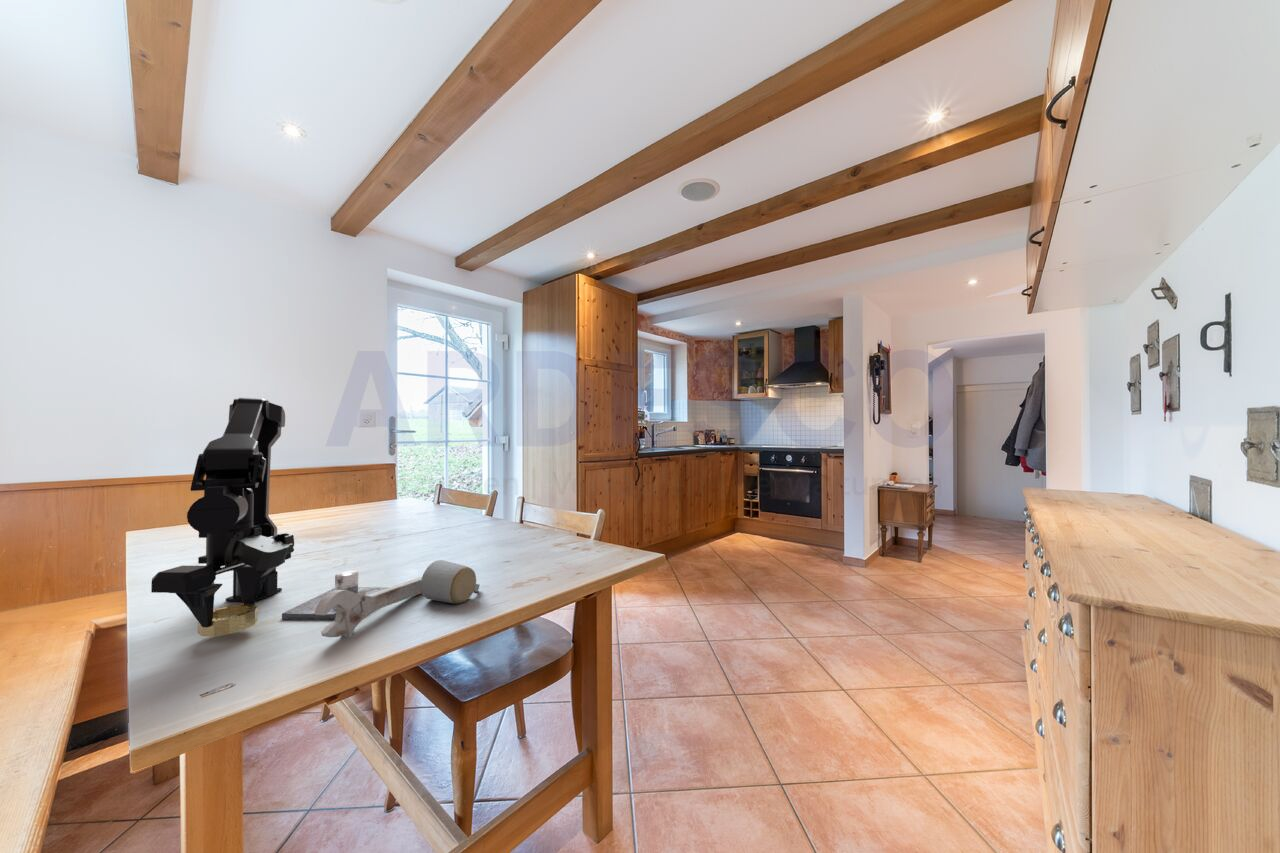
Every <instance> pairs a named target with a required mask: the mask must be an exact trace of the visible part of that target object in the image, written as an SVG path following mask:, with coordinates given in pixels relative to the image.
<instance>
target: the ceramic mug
mask: <svg viewBox="0 0 1280 853" xmlns="http://www.w3.org/2000/svg"><path fill="white" fill-rule="evenodd" d="M421 577H422V580H421V591H422V593H421V594H422V595H423V596H424V598H425V599H427V600H431V601H437V602H442V603H443V602H444V603H446V604H447V603H448V604H454V605H455V604H462V603H464V602H466V601H467V600H469V599H470V598H471V596H473V593H474V592H475V593H477V592H479V589H480V584H478V583H477V575H476V572H475V571H474V569H472V568H471V567H469V566H467V565H463V564H459V563H455V562H452V561H448V560H443V559H438V560H434V561H433V562H432V563H430V564H428V566H427V567H426V568H425V570H424V573H423V574H422V576H421Z"/></svg>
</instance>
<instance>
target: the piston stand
mask: <svg viewBox="0 0 1280 853" xmlns="http://www.w3.org/2000/svg"><path fill="white" fill-rule="evenodd" d="M390 587H391V586H390ZM390 587H386V586H384V587H383V586H380V587H379V586H378V587H377V586H376V587H375V586H374V587H372V586H371V587H370V586H360V587H359V571H357V570H345V571H341V572H337V573H336V574H335V575H334V588H331V589H329V590H327V591H326V592H323V593H322V594H318V596H316V597H313V598H311V599H309V600H307V601H304V602H303V603H301V604H299V605H297V606H295V607H292V608H291V609H288V610H286V611H284V612H282V613H281V620H316V619H329V620H330V621H332V620H334V621H335V618H336V614H337V613H336V609H335V608H333V609H331V610H330V611H329V612H328V613H326V614H325V615H315V609H316V607H317V605H318V603H319V602H320V600H321V599H322V598H323V597H324V596H325V595H326V594H327V593H329V592H331V591H333V590H348V591H350V592H353V593H356V594H359V595H365V596H366V595H369V594H372V593H375V592H378V591H381V590H384V589H387V588H390Z"/></svg>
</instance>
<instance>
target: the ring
mask: <svg viewBox="0 0 1280 853" xmlns="http://www.w3.org/2000/svg"><path fill="white" fill-rule="evenodd" d="M258 621H259V606H258V605H256V603H255V604H243V603H239V604H234V605H233V604H232V605H227V606H223V607H219V608H215V609H213V619H212V624H211V626H210V627H202V626H201V624H200V623H199V622H198V621H197V635H199V636H201V637H218V636H225V635H231V634H235V633H237V632H241V631H244V630H246V629H249V628H251V627H253V626H255V625H256V623H258Z"/></svg>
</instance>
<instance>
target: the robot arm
mask: <svg viewBox="0 0 1280 853" xmlns="http://www.w3.org/2000/svg"><path fill="white" fill-rule="evenodd" d="M226 425H227V426H226V428H225V429H224V432H223V434H222V436H221V437H219V438H215V439H213V440H211V441H209V442H208V443H207V445H206V447H205V448H204V450H203V452H202V453H199V454H198V456H197V459H196V464H195V468H194V472H193V477H192V481H191V486H190V491H191V492H197V491H198V492H200V491H203V496H201V497H200V498H198V499H197V500H195V501H194V502H193V503H192V504H191V505H190V506H189V509H188V511H187V512H186V519H187V522H188V524H189V526H190V527H191V528H192V529H194V530H195V531H197V532H198V538H199V539H201V538H202V539H206V540H205V555H202V556H199V557H198V558H197V563H198V564H203V565H179V566H175V567H173V568H170V569H169V568H168V569H165V570H162V571H159V572H157V573H156V574H155V575H154V576H153V577H152V579H151V587H150V591H151V592H150V593H156V594H157V593H158V594H159V593H161V594H162V593H163V594H164V593H168V594H176V596H177V597H178V598H179V599H180V600H181V601H182V602H183V603H184V604H185V605H186V607H187V608H188V610H190V612H191V613H192V615H193V616H194V617H195V620H197V623H198V622H199V623H200V624H201V626H202V627H210V626H211V624H212V619H213V610H214V606H215V605H214V604H215V594H216V592H218V590H219V589H220V588H221V587H222V586H223V583H215V580H216V578H217V576H218V575H221V574H224V573H226V572H227V573H228V572H232V571H233V573H232V574H233V575H232V577H233V580H232V595H231V596H228V597H226V598H225V602H242V604H255V605H256V602H258V601H260V600H263V599H265V598H267V597H270V596H272V595H274V594H278V593H279V592H282V591H283V588H282V587H278V573H279V572H278V571H277V567H278V568H279V567H280V566H281V565H283V564H284V563H286V560H289V559H291V558H292V553H293V552H294V551H295V548H294V546H295V537H294V534H293V533H291V532H287V531H286V532H282V533H281V532H280V533H278V527H277V525H275V523H274V521H273V520H272V519H271V517H269V511H270V510H269V507H270V486H271V485H270V484H271V482H270V481H271V480H270V479H271V460H272V458H271V457H272V447H273V446H274V445H275V443H276V442H277V441H278V440H279V439H280V438H281V436H282V428H285V426H286V411H285V410H284V407H283V406H282V405H278V404H275V403H274V402H273V403H272V402H270V401H269V400H268V399H264V398H262V397H261V398H260V397H259V398H258V397H257V398H256V397H238V398H234V399H233V403H232V404H231V403H230V405H229V411H228V422H227V424H226ZM204 564H206V565H204Z"/></svg>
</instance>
